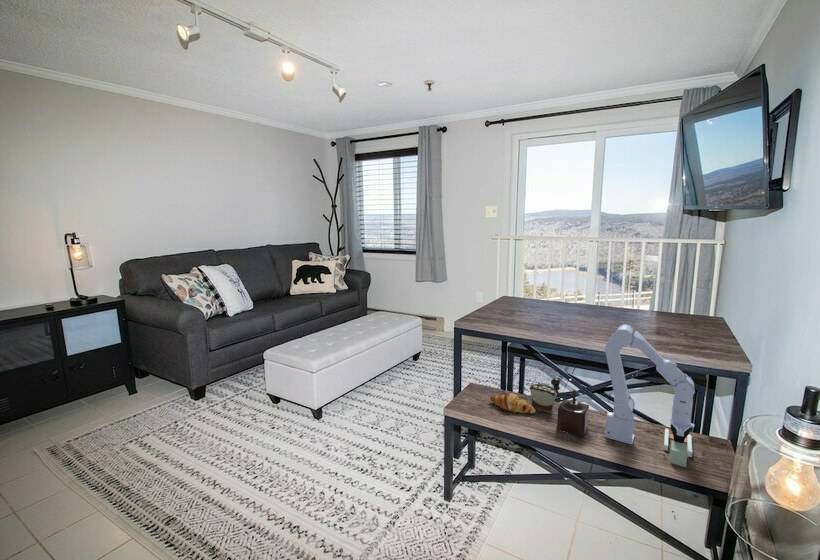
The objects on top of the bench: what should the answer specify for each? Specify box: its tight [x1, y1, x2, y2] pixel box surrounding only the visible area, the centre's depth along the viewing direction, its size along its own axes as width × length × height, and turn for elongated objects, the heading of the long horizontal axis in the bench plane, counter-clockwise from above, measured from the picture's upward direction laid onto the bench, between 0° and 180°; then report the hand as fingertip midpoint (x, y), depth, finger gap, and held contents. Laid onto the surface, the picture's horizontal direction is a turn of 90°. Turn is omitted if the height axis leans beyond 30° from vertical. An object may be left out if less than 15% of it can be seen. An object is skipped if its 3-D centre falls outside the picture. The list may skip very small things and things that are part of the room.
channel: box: [663, 428, 693, 458], centre depth 146 cm, size 8×14×2 cm, turn 146°
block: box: [669, 440, 688, 468], centre depth 136 cm, size 4×7×5 cm, turn 146°
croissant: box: [489, 392, 537, 415], centre depth 175 cm, size 21×10×8 cm, turn 57°
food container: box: [528, 383, 558, 414], centre depth 175 cm, size 12×6×10 cm, turn 48°
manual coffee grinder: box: [550, 378, 590, 438], centre depth 158 cm, size 16×11×18 cm
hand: (678, 445), depth 140 cm, fingers closed
